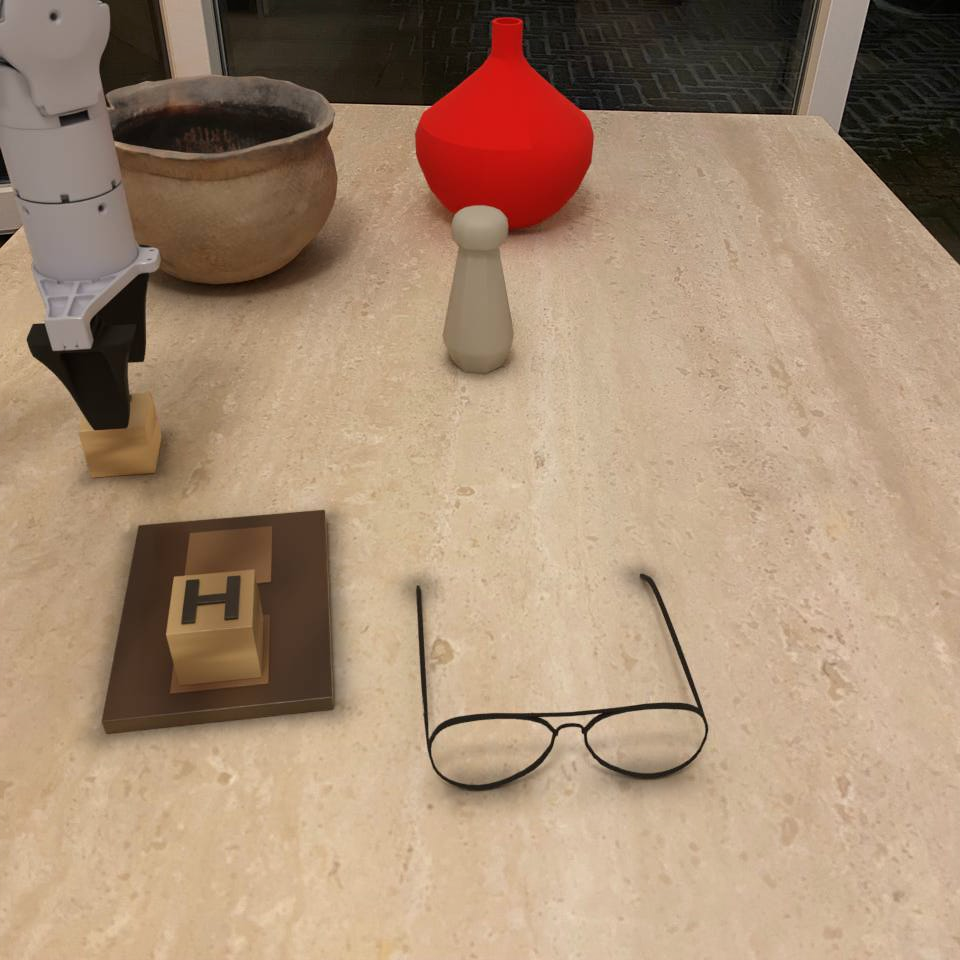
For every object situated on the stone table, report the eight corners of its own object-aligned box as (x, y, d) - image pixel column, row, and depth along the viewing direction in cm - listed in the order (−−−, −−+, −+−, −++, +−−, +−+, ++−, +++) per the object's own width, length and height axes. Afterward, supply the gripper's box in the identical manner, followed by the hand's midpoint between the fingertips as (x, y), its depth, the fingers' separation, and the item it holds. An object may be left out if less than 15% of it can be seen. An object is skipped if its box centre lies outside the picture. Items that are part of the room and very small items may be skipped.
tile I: (90, 478, 70) (76, 429, 67) (100, 441, 73) (87, 393, 71) (155, 473, 71) (143, 424, 68) (161, 437, 74) (151, 389, 71)
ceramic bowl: (115, 228, 103) (81, 77, 94) (325, 207, 108) (312, 61, 98) (116, 332, 86) (74, 161, 77) (365, 301, 91) (353, 136, 82)
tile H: (179, 686, 54) (164, 632, 51) (185, 627, 57) (173, 573, 55) (261, 677, 55) (251, 623, 52) (263, 619, 58) (254, 566, 55)
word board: (105, 734, 53) (100, 720, 52) (141, 536, 65) (137, 523, 65) (333, 709, 54) (332, 696, 54) (326, 520, 67) (324, 507, 66)
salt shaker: (435, 348, 85) (432, 200, 77) (499, 338, 86) (503, 192, 78) (454, 384, 80) (454, 231, 72) (522, 373, 82) (528, 222, 74)
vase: (622, 212, 108) (642, 22, 96) (508, 265, 97) (514, 59, 85) (497, 167, 118) (501, -10, 106) (381, 211, 107) (371, 20, 95)
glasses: (426, 795, 50) (422, 722, 47) (416, 609, 63) (414, 543, 60) (705, 776, 51) (718, 704, 48) (641, 597, 64) (647, 532, 61)
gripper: (124, 235, 50) (173, 454, 58) (157, 136, 61) (194, 331, 70) (-24, 242, 49) (47, 463, 57) (38, 140, 60) (89, 337, 69)
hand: (120, 391), depth 63 cm, fingers open, 7 cm apart
